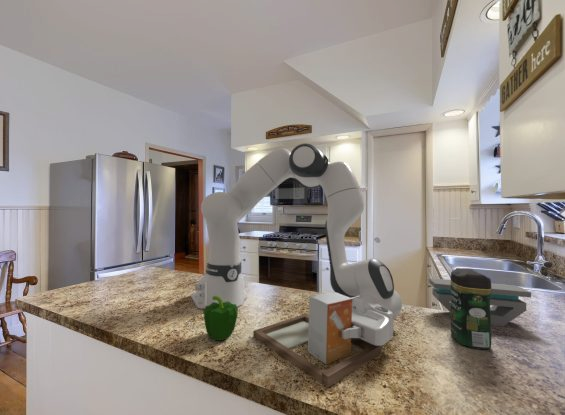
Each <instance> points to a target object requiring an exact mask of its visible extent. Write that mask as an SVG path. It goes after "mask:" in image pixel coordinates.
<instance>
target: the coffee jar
mask: <svg viewBox="0 0 565 415" xmlns="http://www.w3.org/2000/svg"><path fill="white" fill-rule="evenodd" d="M450 280H451V301H450V303H451V313H450V333H451V336H452V337H453V338H454V339H455V340H456V342H458V343H459V344H460V345H463V346H465V347H469V348H470V349H475V350H486V349H488V350H489V349H491V348H492V325H491V317H490V308H491V305H490V297H491V288H492V287H491V283H492V281H491V278H490V277H488V276H486V275H485V274H482V273H480V272H478V271H476V270H474V269H472V268H464V267H463V268H461V267H457V268H455V269H453V270H452V271H451V272H450Z"/></svg>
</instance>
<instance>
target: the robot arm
mask: <svg viewBox="0 0 565 415" xmlns="http://www.w3.org/2000/svg"><path fill="white" fill-rule="evenodd" d="M290 178H291V179H293V180H294V181H295V182H296V183H298V184H300V185H301V186H303V187H304V188H308V189H311V190H313V189H318V188H320V187H321V188H322V189H323V191H324V195H325V198H326V199H325V200H326V202H327V217H326V218H327V219H325V224H324V228H325V229H324V231H325V240H326V247H327V252H328V253H327V254H328V261H329V272H330V273H329V282H330V287H331V288H332V290H333V292H336V293H339V294H342V295H344V296H347V297H349V298H352V328H347V329H346V328H344V327H343V328H342V329H339V337H341V338H343V339H347V338H359V339H362V340H364V341H366V342H368V343H371V344H373V345H376V346H381V347H382V346H384V345H385V344H387V343H388V342H389V341H390V340H392V339H393V337H394V320H395V319H396V318H397V317H398V316H399V315H400V313H401V311H402V309H403V308H402V307H403V301H402V298H401V296H400V294H399V293H398V292H397V291H396V290H395V283H394V279H393V278H394V277H393V276H392V273H391V271H390V268H388V266H386V264H385V263H383V262H382V261H381V260H379V259H378V258H373V257H371V258H369V259H365V260H360V261H357V262H352V263H348V261H347V254H346V246H345V236H346V233H347V232H348V230H349V228H350V227H351V226H352V225H353V224H355V222H356V221H358V219H359V218H360V217H361V215H362V214H363V212H364V208H365V200H364V197H363V193H362V190H361V188H360V187H361V186H360V185H359V182H358V180H357V177H356V175H355V173H354V171H353V170H352V168H351V167H350V165H349V164H348V163H346V162H344V161H335V162H329V157H328V156H327V155H325V154H324V153H323V152H322V151H321V150H320V149H319V148H317V147H316V146H315V145H313V144H309V143H301V144H297V146H295V147H294V148H293V149H292V150H291V151H290V150H289V149H287V148H286V147H285V148H284V147H278V148H276V149H273V150H272V151H271V152H269V153H268V154H266V155H265V156H263V157H262V158H260V160H258V161H257V162H256V163H255V164H253V165H252V166H251V167H249V169H248V170H246V171H245V172H243V174H241V175H240V177H239V179H238V180H237V182H236V183H235V184H234V185H233V187H232V188H231V189H229V191H227V192H223V191H217V192H212V193H210V194H207V195H206V196H205V197H204V198H203V200H202V202H201V205H200V211H201V215H202V216H203V218H204V220H205V224H206V231H207V235H208V236H207V237H208V262H206V269H205V273H204V275H203V276H202V277H201V278H200V279H198V281H197V284H195V286H194V287H195V288H194V289H195V292H194V291H193V292H192V293H190V298H191V299H192V301H193V303H194V304H195V307H196V308H197V309H202V310H205V308H206V306H209V305H210V304H212V303H213V302H214V303H219V302H218V300H213V298H212V297H214V296H218V297H220V298H221V299H222V302H223V303H224V302H228V301H229V302H230V303H231V304H236V306H237V308H238V307H240V306H242V305H243V304H244V302H245V300H246V299H247V297H248V296H247V294H245V283H244V276H243V275H242V274H241V273H242V262H241V251H242V250H241V249H242V248H241V246H242V244H241V243H242V240H241V237H240V234H239V225H238V222H240V221H241V220H243V219H244V217H246V215H248V214H249V213H250V212H251V211H252V210H253V209H254V207H256V206H257V205H258V203H260V202H261V200H263V199H264V198H265V197H266V196H267V195H269V194H270V193H271V192H272V191H274V190H275V189H276V188H277V187H278V186H280V184H282V183H283V182H285V181H286V180H288V179H290Z"/></svg>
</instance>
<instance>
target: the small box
mask: <svg viewBox="0 0 565 415" xmlns="http://www.w3.org/2000/svg"><path fill="white" fill-rule="evenodd" d="M308 298H309V299H308V302H309V304H308V315H309V331H308V342H307V352H308V353H309V354H310V355H312V357H315V358H316V359H317V360H319V361H320V362H321V363H323V364H325V365H328V364H330V363H333V362H335V361H337V360H340V359H342V358H345V357H347V356H350V355H351V354H352V344H351V338H347V339H343V338H341V337H339V329H342V328H343V327H344V328H346V329H347V328H352V299H353V297H352V298H349V297H347V296H344V295H342V294H339V293H336V292H334V291H331V292H330V291H329V292H326V293H324V292H323V293H319V294H316V295H311V296H309V297H308Z"/></svg>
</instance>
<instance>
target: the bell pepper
mask: <svg viewBox="0 0 565 415" xmlns="http://www.w3.org/2000/svg"><path fill="white" fill-rule="evenodd" d="M212 298H213V300H218V302H219V303H214V302H213V303H212V304H210V305H209V306H206V308H204V309H203V320H204V326H205V330H206V333H207V335H208V336H209V337H210V338H212V339H213V340H214V341H225V340H227V339H228V338H229V337H230V336H231V335H233V332H234V330H235V327H236V324H237V320H238V311H239V310H238V309H239V308H238V307H237V306H236V304H231V303H230V302H229V301H228V302H224V303H223V302H222V299H221V298H220V297H218V296H214V297H212Z"/></svg>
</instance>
